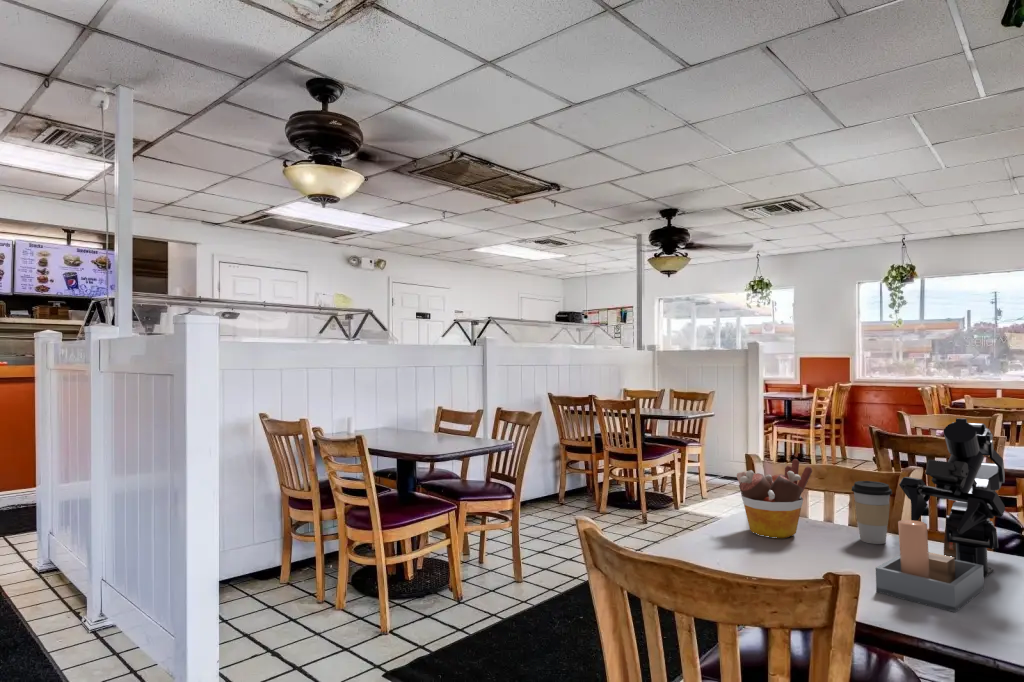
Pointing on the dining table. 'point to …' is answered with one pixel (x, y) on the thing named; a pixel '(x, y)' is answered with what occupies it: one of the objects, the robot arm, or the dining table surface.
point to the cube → (942, 567)
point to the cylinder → (914, 548)
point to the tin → (949, 547)
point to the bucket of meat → (773, 500)
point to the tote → (931, 585)
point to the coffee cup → (872, 510)
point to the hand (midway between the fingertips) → (935, 527)
